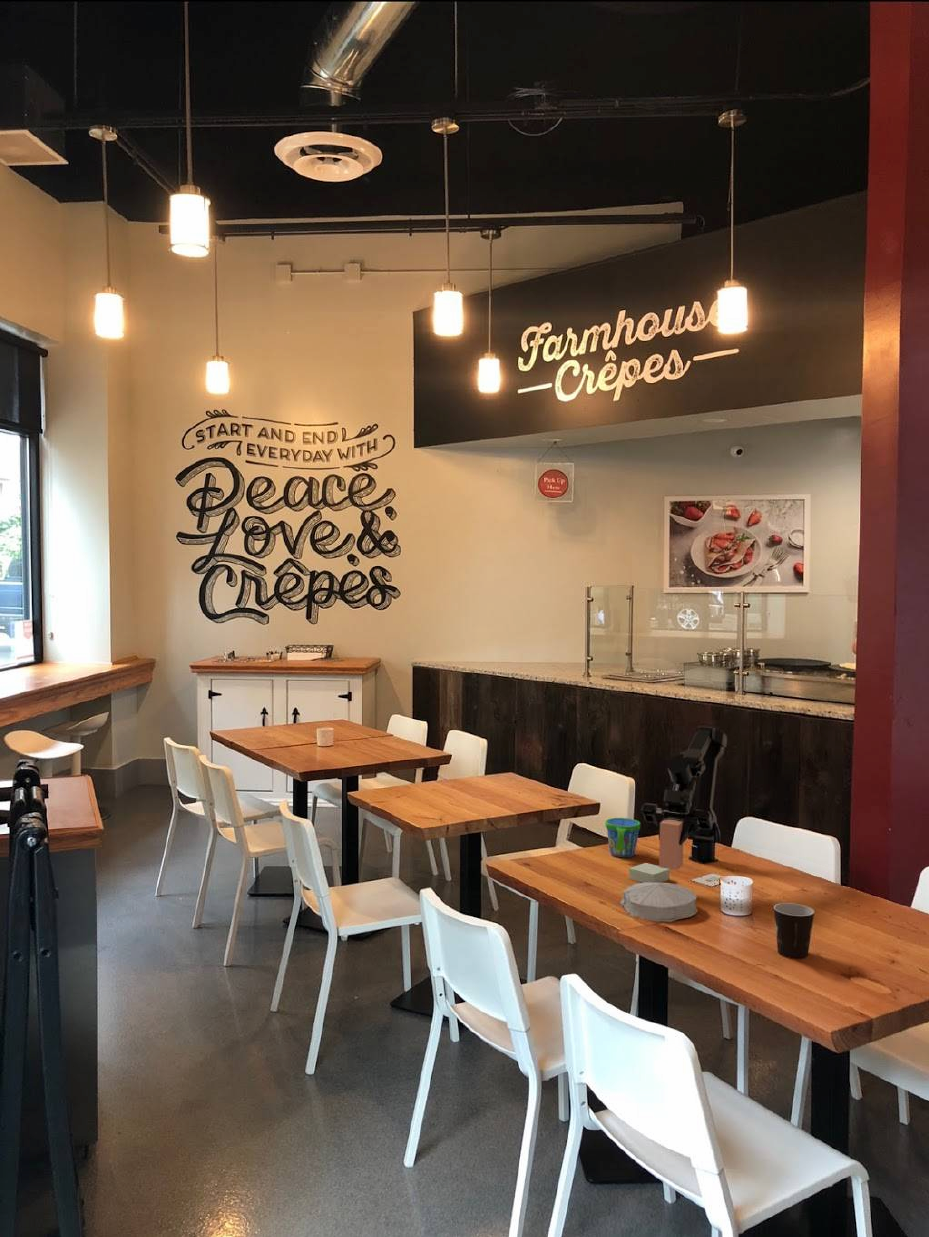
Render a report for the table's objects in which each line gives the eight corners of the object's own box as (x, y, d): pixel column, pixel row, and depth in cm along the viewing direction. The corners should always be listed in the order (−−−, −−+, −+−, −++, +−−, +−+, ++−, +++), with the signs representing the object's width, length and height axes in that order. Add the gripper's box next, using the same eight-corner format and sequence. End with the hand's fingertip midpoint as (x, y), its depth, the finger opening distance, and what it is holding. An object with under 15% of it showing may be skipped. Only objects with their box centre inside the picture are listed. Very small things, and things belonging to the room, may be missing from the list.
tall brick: (664, 862, 262) (665, 818, 262) (682, 865, 260) (683, 821, 259) (659, 867, 258) (660, 822, 257) (677, 870, 255) (678, 825, 255)
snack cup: (635, 863, 285) (635, 829, 284) (599, 859, 288) (600, 825, 288) (643, 850, 299) (644, 817, 299) (610, 846, 303) (610, 814, 303)
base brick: (645, 873, 275) (645, 862, 275) (669, 879, 269) (669, 868, 269) (629, 878, 270) (629, 868, 269) (653, 885, 264) (653, 874, 264)
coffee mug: (781, 943, 222) (782, 900, 222) (818, 952, 216) (819, 908, 216) (761, 957, 213) (762, 913, 213) (799, 968, 207) (801, 922, 207)
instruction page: (712, 874, 275) (712, 873, 275) (733, 880, 270) (733, 879, 270) (690, 880, 269) (690, 879, 269) (711, 886, 263) (711, 885, 263)
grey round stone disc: (714, 920, 239) (715, 892, 239) (642, 926, 233) (643, 898, 233) (673, 895, 258) (674, 870, 258) (606, 900, 252) (606, 875, 252)
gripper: (643, 773, 266) (630, 822, 257) (711, 781, 257) (699, 831, 248) (651, 796, 273) (638, 844, 264) (717, 804, 264) (706, 854, 255)
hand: (670, 843), depth 257 cm, fingers closed on tall brick, 5 cm apart
